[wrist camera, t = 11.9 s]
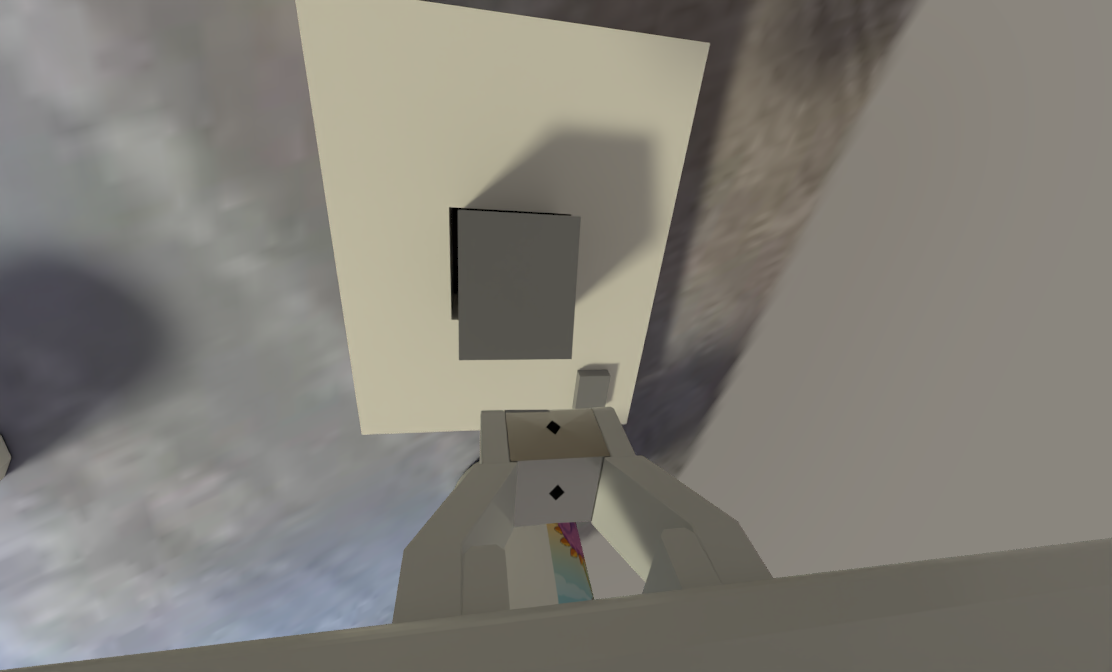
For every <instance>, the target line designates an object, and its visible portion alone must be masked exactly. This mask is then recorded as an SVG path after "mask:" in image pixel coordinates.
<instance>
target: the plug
mask: <svg viewBox="0 0 1112 672" xmlns="http://www.w3.org/2000/svg"><path fill="white" fill-rule="evenodd" d="M580 222H581V217H580V216H562V215H545V214H527V213H509V212H491V211H473V210H458V315H459V360H535V359H572V346H573V330H574V315H575V299H576V284H577V268H578V253H579V238H580Z"/></svg>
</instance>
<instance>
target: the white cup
mask: <svg viewBox="0 0 1112 672" xmlns="http://www.w3.org/2000/svg"><path fill="white" fill-rule="evenodd" d="M10 460H11V455H10V453H9V451H8V449H7V446H6V444H5V442H4V440H3V438H2V436H1V435H0V481H1V480H2V479H3V478H4V477H5V474H6V471H7V469H8V466H9V463H10Z"/></svg>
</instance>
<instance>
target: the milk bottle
mask: <svg viewBox="0 0 1112 672" xmlns="http://www.w3.org/2000/svg"><path fill="white" fill-rule="evenodd" d="M475 464H480V461H479V462H477V463H475ZM475 464H473V465H472V466H471V467H470V468H469V469H467V470H466V471H465V473H464V474H463V475H462V476H461V478H460V479H459V481H458V483H457V484H456V486H457V485H458V484H459V483H460V482H461V480H462V479H463V478H464V477H465V476H466V474H467V473H468V472H469V471H470V470H471V468H472V467H473V466H474V465H475ZM456 486H455V488H456ZM504 550H505V556H506V567H507V579H508V591H509V603H510V610H511V609H520V608H528V607H536V606H545V605H553V604H562V603H570V602H579V601H587V600H594V597H593V593H592V589H591V584H590V580H589V576H588V571H587V567H586V563H585V559H584V555H583V551H582V546H581V542H580V538H579V534H578V530H577V526H576V522H567V523H550V524H541V525H532V526H523V527H514V528H513V532H512V534H511V536H510V538H509V539H508V541H507V543H506V545H505V547H504Z"/></svg>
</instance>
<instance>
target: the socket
mask: <svg viewBox="0 0 1112 672" xmlns="http://www.w3.org/2000/svg"><path fill="white" fill-rule="evenodd" d="M295 1H296V8H297V14H298V21H299V27H300V34H301V40H302V47H303V53H304V60H305V67H306V73H307V80H308V86H309V93H310V99H311V106H312V112H313V119H314V125H315V132H316V138H317V145H318V151H319V158H320V164H321V171H322V178H323V184H324V191H325V197H326V204H327V210H328V217H329V223H330V230H331V236H332V243H333V249H334V256H335V262H336V269H337V275H338V282H339V289H340V295H341V302H342V308H343V315H344V321H345V328H346V334H347V341H348V347H349V354H350V360H351V367H352V373H353V380H354V387H355V393H356V400H357V406H358V413H359V419H360V426H361V432H362V435H366V434H392V433H417V432H442V431H467V430H480V414H481V411H483V410H503V411H504V410H557V409H586V408H593V407H612V408H614V410H615V412H616V414H617V416H618V418H619V420H620V423H621V424H627V419H628V415H629V410H630V405H631V401H632V396H633V392H634V387H635V383H636V378H637V374H638V369H639V364H640V360H641V355H642V351H643V346H644V342H645V337H646V333H647V328H648V324H649V319H650V314H651V310H652V305H653V301H654V296H655V292H656V287H657V283H658V278H659V274H660V269H661V264H662V260H663V255H664V251H665V246H666V242H667V237H668V233H669V228H670V224H671V219H672V214H673V210H674V205H675V201H676V196H677V192H678V187H679V183H680V178H681V174H682V169H683V164H684V160H685V155H686V151H687V146H688V142H689V137H690V133H691V128H692V124H693V119H694V114H695V110H696V105H697V101H698V96H699V92H700V87H701V83H702V78H703V74H704V69H705V64H706V60H707V55H708V51H709V46H710V43H707V42H700V41H693V40H686V39H680V38H673V37H666V36H659V35H652V34H645V33H639V32H632V31H625V30H618V29H611V28H604V27H598V26H591V25H584V24H577V23H570V22H563V21H557V20H550V19H543V18H536V17H529V16H522V15H516V14H509V13H502V12H495V11H488V10H481V9H475V8H468V7H461V6H454V5H447V4H441V3H434V2H427V1H420V0H295ZM452 207H455V208H473V209H490V210H507V211H524V212H541V213H558V215H562V216H580V217H581V222H580V238H579V253H578V268H577V284H576V299H575V315H574V330H573V346H572V359H535V360H459V315H458V294H454V281H453V228H452Z"/></svg>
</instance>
